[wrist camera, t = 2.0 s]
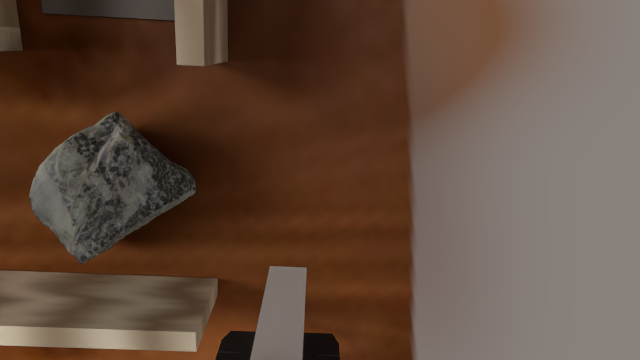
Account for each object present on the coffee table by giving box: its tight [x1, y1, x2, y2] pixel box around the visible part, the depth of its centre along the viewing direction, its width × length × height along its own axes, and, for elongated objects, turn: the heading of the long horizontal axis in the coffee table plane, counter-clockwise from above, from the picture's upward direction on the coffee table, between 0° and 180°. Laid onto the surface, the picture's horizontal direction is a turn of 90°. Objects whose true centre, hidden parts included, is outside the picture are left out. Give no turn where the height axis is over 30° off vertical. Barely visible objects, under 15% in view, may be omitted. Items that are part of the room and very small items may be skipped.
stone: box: [29, 112, 196, 264], centre depth 30 cm, size 10×10×10 cm
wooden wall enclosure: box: [0, 0, 228, 352], centre depth 28 cm, size 19×32×7 cm, turn 177°
